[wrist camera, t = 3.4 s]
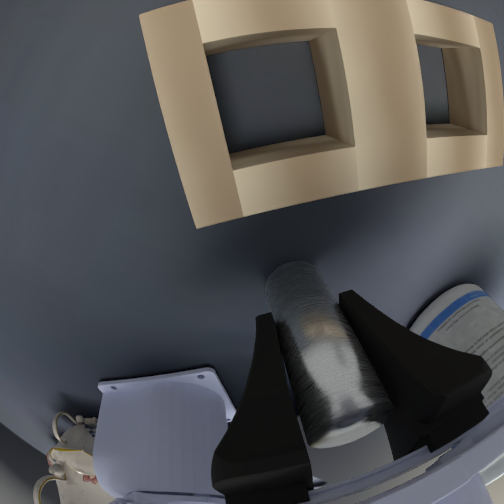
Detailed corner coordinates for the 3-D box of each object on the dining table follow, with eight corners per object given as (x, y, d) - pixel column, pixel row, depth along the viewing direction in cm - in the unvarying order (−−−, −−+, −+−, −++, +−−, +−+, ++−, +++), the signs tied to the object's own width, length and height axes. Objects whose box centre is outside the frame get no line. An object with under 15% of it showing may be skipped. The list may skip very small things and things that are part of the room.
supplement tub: (377, 351, 21) (453, 507, 8) (457, 260, 18) (580, 403, 5) (427, 366, 24) (488, 476, 12) (489, 298, 21) (570, 401, 8)
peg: (269, 315, 15) (309, 454, 8) (259, 269, 14) (304, 425, 7) (323, 300, 15) (385, 428, 8) (319, 254, 14) (401, 390, 7)
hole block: (198, 200, 13) (196, 228, 10) (154, 32, 9) (138, 14, 6) (467, 150, 13) (502, 165, 11) (455, 25, 9) (492, 23, 7)
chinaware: (200, 472, 35) (221, 561, 21) (112, 480, 34) (120, 560, 19) (96, 379, 21) (94, 562, 7) (-9, 392, 19) (-32, 515, 5)
